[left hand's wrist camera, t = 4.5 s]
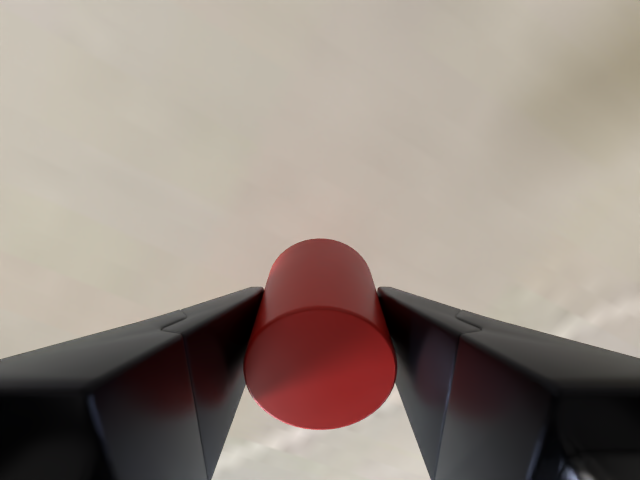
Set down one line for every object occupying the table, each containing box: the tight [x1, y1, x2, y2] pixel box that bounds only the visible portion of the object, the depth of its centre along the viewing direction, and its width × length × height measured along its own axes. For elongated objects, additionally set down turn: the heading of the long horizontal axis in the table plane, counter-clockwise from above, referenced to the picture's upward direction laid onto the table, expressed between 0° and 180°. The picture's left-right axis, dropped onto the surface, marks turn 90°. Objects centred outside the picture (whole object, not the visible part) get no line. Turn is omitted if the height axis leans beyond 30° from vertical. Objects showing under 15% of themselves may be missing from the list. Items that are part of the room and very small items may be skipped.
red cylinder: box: [243, 239, 397, 430], centre depth 10 cm, size 4×4×4 cm
